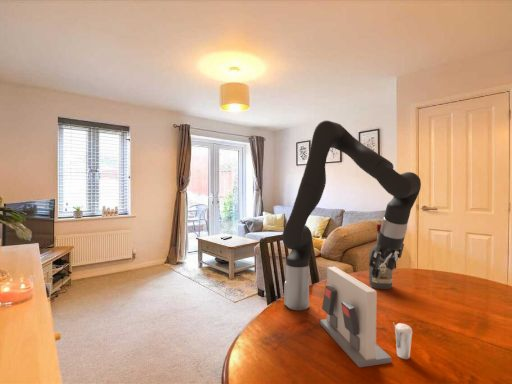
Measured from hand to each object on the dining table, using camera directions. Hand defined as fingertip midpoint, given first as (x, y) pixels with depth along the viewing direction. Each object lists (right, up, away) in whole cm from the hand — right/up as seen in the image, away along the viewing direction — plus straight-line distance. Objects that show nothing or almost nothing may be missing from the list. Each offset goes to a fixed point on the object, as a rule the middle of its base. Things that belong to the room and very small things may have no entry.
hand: (382, 272), depth 101 cm
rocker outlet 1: (-20, -12, -3) cm, 24 cm away
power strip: (-15, -20, -9) cm, 26 cm away
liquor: (+16, -18, +40) cm, 47 cm away
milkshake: (-2, -20, -17) cm, 26 cm away
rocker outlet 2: (-16, -13, -16) cm, 26 cm away
